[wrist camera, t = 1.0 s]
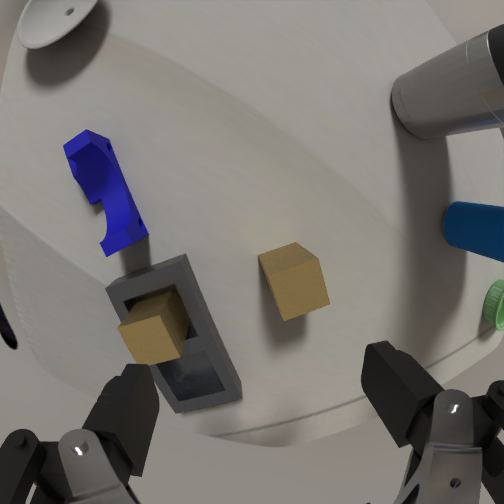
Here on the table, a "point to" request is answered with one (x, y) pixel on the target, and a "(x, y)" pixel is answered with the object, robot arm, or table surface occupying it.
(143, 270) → the grey flat open box
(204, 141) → the table surface
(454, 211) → the beverage can
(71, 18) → the dish
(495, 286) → the ramekin
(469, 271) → the table surface
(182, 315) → the beige cube
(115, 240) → the cable clip
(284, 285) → the wooden toy block
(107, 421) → the robot arm
